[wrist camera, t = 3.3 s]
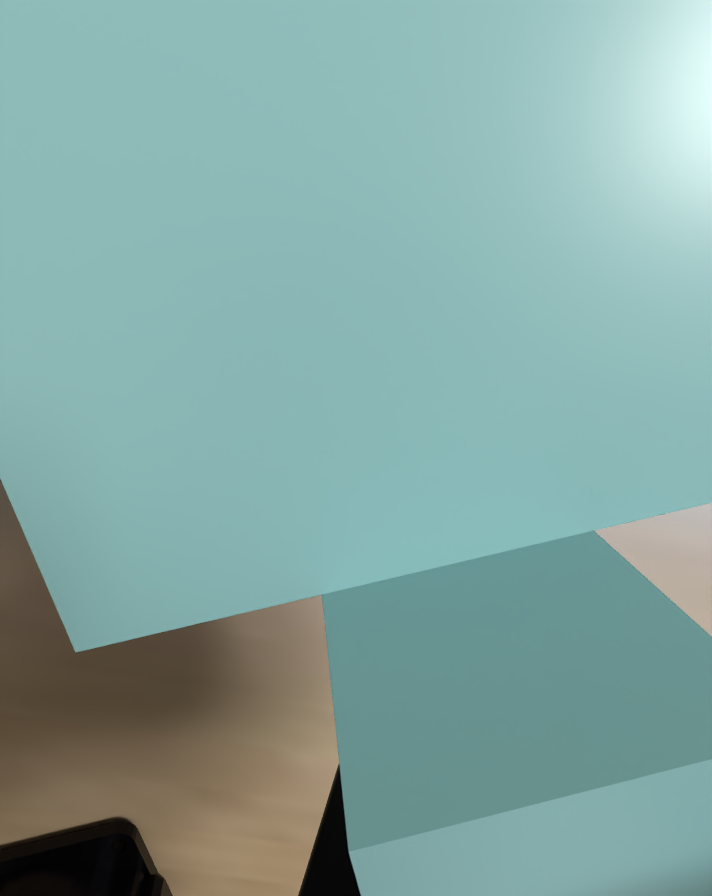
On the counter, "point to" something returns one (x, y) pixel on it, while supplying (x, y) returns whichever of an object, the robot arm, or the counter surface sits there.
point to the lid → (385, 390)
